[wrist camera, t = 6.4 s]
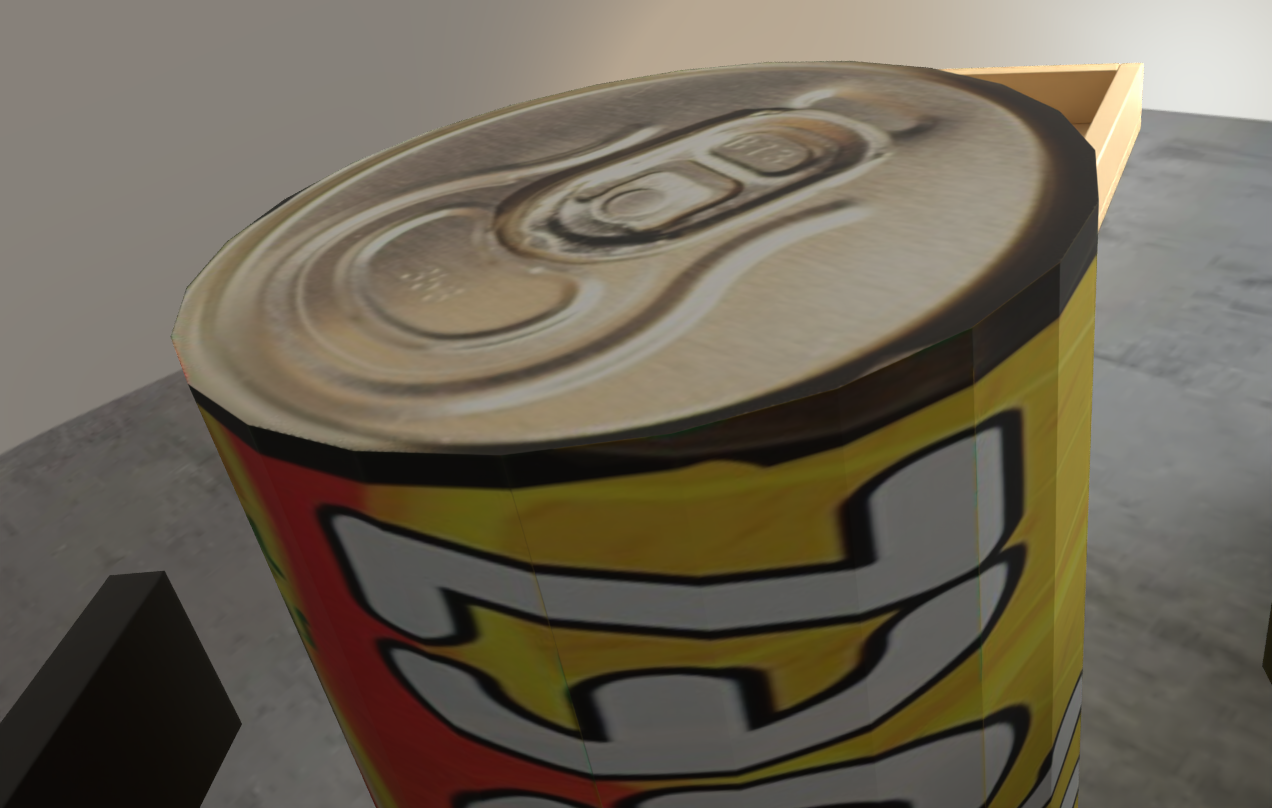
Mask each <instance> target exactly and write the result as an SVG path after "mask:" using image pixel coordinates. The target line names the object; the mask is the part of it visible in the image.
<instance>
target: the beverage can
mask: <svg viewBox="0 0 1272 808" xmlns="http://www.w3.org/2000/svg"><path fill="white" fill-rule="evenodd" d="M1098 215H1099V194H1098V180H1097V166H1096V152H1095V149H1094V148H1093V147H1092V146H1091V145H1090V144H1089V142H1088V141H1087V140H1086V139H1085V138H1084V137H1083V136H1082V135H1081V134H1080V133H1079V132H1078V130H1077V129H1076V128H1075V127H1074V126H1073V125H1072V124H1071V123H1070V122H1069V121H1068V120H1067V118H1066V117H1065V116H1064V115H1063V114H1062V113H1061V112H1060V111H1059V110H1056V109H1054V108H1052V107H1050V106H1048V105H1046V104H1044V103H1041V102H1039V101H1037V100H1035V99H1033V98H1031V97H1029V96H1026V95H1024V94H1022V93H1020V92H1018V91H1016V90H1014V89H1012V88H1009V87H1007V86H1005V85H1003V84H999V83H995V82H991V81H986V80H982V79H977V78H973V77H969V76H964V75H960V74H955V73H951V72H946V71H942V70H938V69H933V68H926V67H914V66H903V65H890V64H879V63H867V62H856V61H825V62H824V61H819V62H764V63H753V64H742V65H733V66H722V67H711V68H701V69H690V70H680V71H674V72H668V73H662V74H657V75H650V76H644V77H639V78H632V79H626V80H621V81H615V82H609V83H603V84H597V85H593V86H588V87H584V88H580V89H576V90H571V91H567V92H564V93H559V94H555V95H551V96H546V97H542V98H538V99H534V100H530V101H526V102H522V103H518V104H513V105H510V106H507V107H503V108H500V109H497V110H494V111H491V112H488V113H485V114H481V115H478V116H475V117H472V118H469V119H466V120H463V121H459V122H456V123H453V124H450V125H447V126H444V127H441V128H437V129H434V130H431V131H429V132H426V133H424V134H421V135H419V136H416V137H414V138H411V139H409V140H407V141H404V142H402V143H400V144H397V145H395V146H392V147H390V148H387V149H385V150H382V151H380V152H378V153H375V154H373V155H370V156H368V157H365V158H363V159H361V160H358V161H356V162H353V163H351V164H350V165H348V166H346V167H344V168H342V169H340V170H338V171H337V172H335V173H333V174H331V175H329V176H327V177H325V178H323V179H322V180H320V181H318V182H316V183H314V184H312V185H310V186H309V187H307V188H305V189H303V190H301V191H299V192H297V193H295V194H294V195H292V196H290V197H288V198H286V199H284V200H283V201H282V202H280V203H279V204H278V205H276V206H275V207H273V208H272V209H271V210H269V211H268V212H267V213H265V214H264V215H262V216H261V217H260V218H258V219H257V220H256V221H254V222H253V223H252V224H250V225H249V226H247V227H246V228H245V229H243V230H242V231H241V232H239V233H238V234H237V235H235V236H234V237H232V238H231V239H230V240H228V241H227V242H226V243H225V244H224V245H223V247H222V248H221V249H220V250H219V251H218V252H217V254H216V255H215V256H214V257H213V258H212V259H211V260H210V262H209V263H208V264H207V265H206V266H205V267H204V268H203V270H202V271H201V272H200V273H199V274H198V275H197V277H196V278H195V279H194V280H193V281H192V282H191V283H190V285H189V286H188V287H187V288H186V291H185V294H184V297H183V300H182V303H181V306H180V309H179V312H178V315H177V318H176V322H175V325H174V328H173V331H172V334H171V339H172V342H173V344H174V347H175V350H176V353H177V355H178V358H179V361H180V364H181V366H182V369H183V372H184V374H185V377H186V380H187V383H188V385H189V387H190V390H191V392H192V394H193V396H194V399H195V401H196V403H197V405H198V408H199V410H200V412H201V414H202V417H203V419H204V421H205V423H206V426H207V428H208V430H209V432H210V435H211V437H212V439H213V441H214V444H215V446H216V448H217V450H218V453H219V455H220V457H221V459H222V462H223V464H224V466H225V468H226V471H227V473H228V475H229V477H230V480H231V482H232V484H233V486H234V489H235V491H236V493H237V495H238V498H239V500H240V502H241V504H242V507H243V509H244V511H245V513H246V516H247V518H248V520H249V523H250V525H251V527H252V529H253V532H254V534H255V536H256V538H257V541H258V543H259V545H260V547H261V550H262V552H263V554H264V556H265V559H266V561H267V563H268V565H269V568H270V570H271V572H272V574H273V577H274V579H275V581H276V583H277V586H278V588H279V590H280V592H281V595H282V597H283V599H284V601H285V604H286V606H287V608H288V610H289V613H290V615H291V617H292V619H293V622H294V624H295V626H296V628H297V631H298V633H299V635H300V637H301V640H302V642H303V644H304V646H305V649H306V651H307V653H308V655H309V658H310V660H311V662H312V664H313V667H314V669H315V671H316V673H317V676H318V678H319V680H320V682H321V685H322V687H323V689H324V691H325V694H326V696H327V698H328V700H329V703H330V705H331V707H332V709H333V712H334V714H335V716H336V718H337V721H338V723H339V725H340V727H341V730H342V732H343V734H344V736H345V739H346V741H347V743H348V745H349V748H350V750H351V752H352V755H353V757H354V759H355V761H356V764H357V766H358V768H359V770H360V773H361V775H362V777H363V779H364V782H365V784H366V786H367V788H368V791H369V793H370V795H371V797H372V800H373V802H374V804H375V806H376V808H1078V785H1079V757H1080V728H1081V700H1082V671H1083V643H1084V614H1085V586H1086V557H1087V529H1088V500H1089V472H1090V443H1091V415H1092V386H1093V358H1094V329H1095V301H1096V272H1097V244H1098Z"/></svg>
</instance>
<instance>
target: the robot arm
mask: <svg viewBox="0 0 1272 808" xmlns="http://www.w3.org/2000/svg"><path fill="white" fill-rule="evenodd" d="M1262 667H1263V669H1264V671H1265V672H1266V674H1267V676H1268V678H1269V680H1270V682H1271V684H1272V605H1271V611H1270V618H1269V625H1268V632H1267V638H1266V645H1265V652H1264V659H1263V665H1262ZM241 725H242V723H241V721H240V719H239V717H238V715H237V713H236V711H235V709H234V707H233V705H232V703H231V701H230V699H229V697H228V695H227V693H226V691H225V689H224V687H223V685H222V683H221V681H220V679H219V677H218V675H217V674H216V672H215V670H214V668H213V666H212V664H211V662H210V660H209V658H208V656H207V654H206V652H205V650H204V648H203V646H202V644H201V642H200V640H199V638H198V636H197V634H196V632H195V630H194V628H193V626H192V624H191V622H190V620H189V618H188V616H187V614H186V612H185V610H184V608H183V606H182V604H181V602H180V600H179V598H178V596H177V594H176V592H175V590H174V589H173V587H172V585H171V583H170V581H169V579H168V577H167V575H166V573H165V571H157V572H145V573H133V574H121V575H110V576H109V577H108V578H107V580H106V581H105V583H104V584H103V585H102V587H101V588H100V589H99V591H98V592H97V593H96V595H95V596H94V597H93V599H92V600H91V601H90V603H89V604H88V606H87V607H86V608H85V610H84V611H83V612H82V614H81V615H80V616H79V618H78V619H77V620H76V622H75V623H74V624H73V626H72V627H71V629H70V630H69V631H68V633H67V634H66V635H65V637H64V638H63V639H62V641H61V642H60V643H59V645H58V646H57V647H56V649H55V650H54V652H53V653H52V654H51V656H50V657H49V658H48V660H47V661H46V662H45V664H44V665H43V666H42V668H41V669H40V670H39V672H38V673H37V675H36V676H35V677H34V679H33V680H32V681H31V683H30V684H29V685H28V687H27V688H26V689H25V691H24V692H23V694H22V695H21V696H20V698H19V699H18V700H17V702H16V703H15V704H14V706H13V707H12V708H11V710H10V711H9V712H8V714H7V715H6V717H5V718H4V719H3V721H2V722H1V723H0V808H200V806H201V804H202V802H203V800H204V798H205V796H206V794H207V792H208V790H209V788H210V786H211V784H212V782H213V780H214V778H215V776H216V774H217V772H218V770H219V768H220V766H221V764H222V762H223V760H224V758H225V756H226V754H227V752H228V750H229V748H230V746H231V744H232V743H233V741H234V739H235V737H236V735H237V733H238V731H239V729H240V727H241Z"/></svg>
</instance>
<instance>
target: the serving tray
mask: <svg viewBox="0 0 1272 808" xmlns="http://www.w3.org/2000/svg"><path fill="white" fill-rule="evenodd" d="M938 70H942V71H946V72H951V73H955V74H960V75H964V76H969V77H973V78H977V79H982V80H986V81H991V82H995V83H999V84H1003V85H1005V86H1007V87H1009V88H1012V89H1014V90H1016V91H1018V92H1020V93H1022V94H1024V95H1026V96H1029V97H1031V98H1033V99H1035V100H1037V101H1039V102H1041V103H1044V104H1046V105H1048V106H1050V107H1052V108H1054V109H1056V110H1059V111H1060V112H1061V113H1062V114H1063V115H1064V116H1065V117H1066V118H1067V120H1068V121H1069V122H1070V123H1071V124H1072V125H1073V126H1074V127H1075V128H1076V129H1077V130H1078V132H1079V133H1080V134H1081V135H1082V136H1083V137H1084V138H1085V139H1086V140H1087V141H1088V142H1089V144H1090V145H1091V146H1092V147H1093V148H1094V149H1095V152H1096V166H1097V180H1098V194H1099V215H1098V231H1099V229H1100V226H1101V224H1102V221H1103V219H1104V216H1105V214H1106V212H1107V209H1108V207H1109V204H1110V202H1111V199H1112V197H1113V194H1114V192H1115V189H1116V187H1117V185H1118V182H1119V180H1120V177H1121V175H1122V172H1123V170H1124V167H1125V165H1126V162H1127V160H1128V158H1129V155H1130V153H1131V150H1132V148H1133V145H1134V143H1135V140H1136V138H1137V135H1138V133H1139V131H1140V128H1141V117H1140V116H1141V108H1142V89H1143V71H1144V65H1143V63H1123V64H1121V65H1120V64H1119V63H1113V64H1083V65H1053V66H1021V67H991V68H961V69H938Z"/></svg>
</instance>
